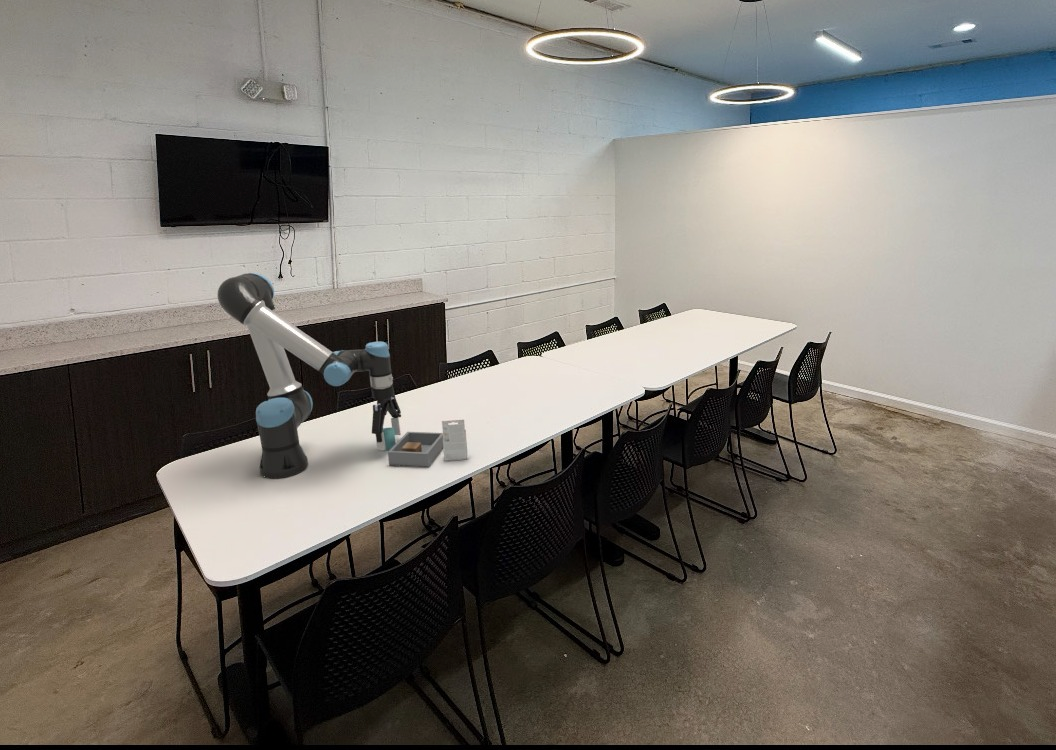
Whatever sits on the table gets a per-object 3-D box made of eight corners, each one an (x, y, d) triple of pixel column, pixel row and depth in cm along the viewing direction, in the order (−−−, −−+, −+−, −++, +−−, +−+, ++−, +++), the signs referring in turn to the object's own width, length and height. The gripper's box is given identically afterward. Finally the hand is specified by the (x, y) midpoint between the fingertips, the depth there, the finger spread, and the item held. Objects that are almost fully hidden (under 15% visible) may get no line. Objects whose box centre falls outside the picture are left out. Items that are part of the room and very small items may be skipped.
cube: (403, 461, 199) (401, 448, 197) (408, 455, 203) (407, 442, 202) (417, 462, 198) (415, 448, 196) (422, 456, 203) (421, 442, 201)
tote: (389, 465, 197) (387, 452, 196) (408, 444, 214) (407, 431, 213) (428, 467, 195) (427, 453, 194) (445, 445, 212) (444, 433, 210)
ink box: (444, 457, 203) (441, 417, 198) (467, 455, 203) (464, 415, 199) (444, 461, 199) (440, 421, 195) (467, 459, 200) (464, 419, 196)
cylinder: (379, 450, 210) (377, 432, 208) (385, 445, 214) (383, 427, 212) (392, 451, 209) (390, 433, 207) (398, 445, 214) (396, 427, 212)
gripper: (377, 397, 192) (385, 456, 199) (405, 375, 216) (411, 429, 222) (356, 397, 194) (364, 456, 200) (386, 375, 217) (393, 428, 223)
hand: (389, 442), depth 211 cm, fingers open, 13 cm apart
